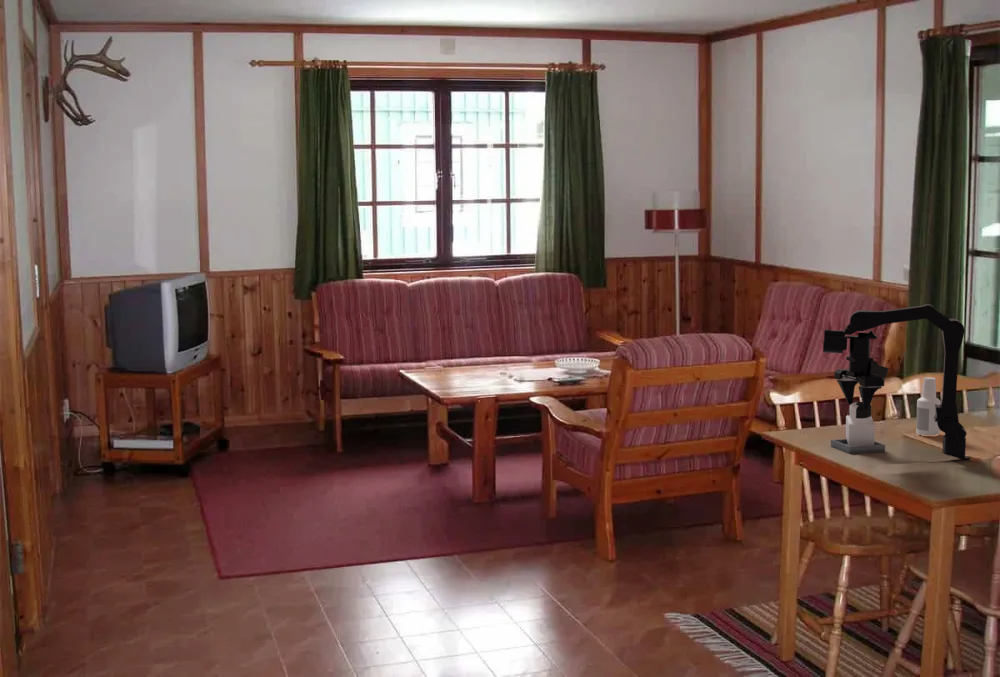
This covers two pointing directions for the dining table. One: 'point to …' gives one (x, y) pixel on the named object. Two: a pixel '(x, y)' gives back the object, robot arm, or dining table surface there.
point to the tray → (857, 447)
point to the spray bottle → (927, 409)
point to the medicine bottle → (859, 426)
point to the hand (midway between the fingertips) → (858, 406)
